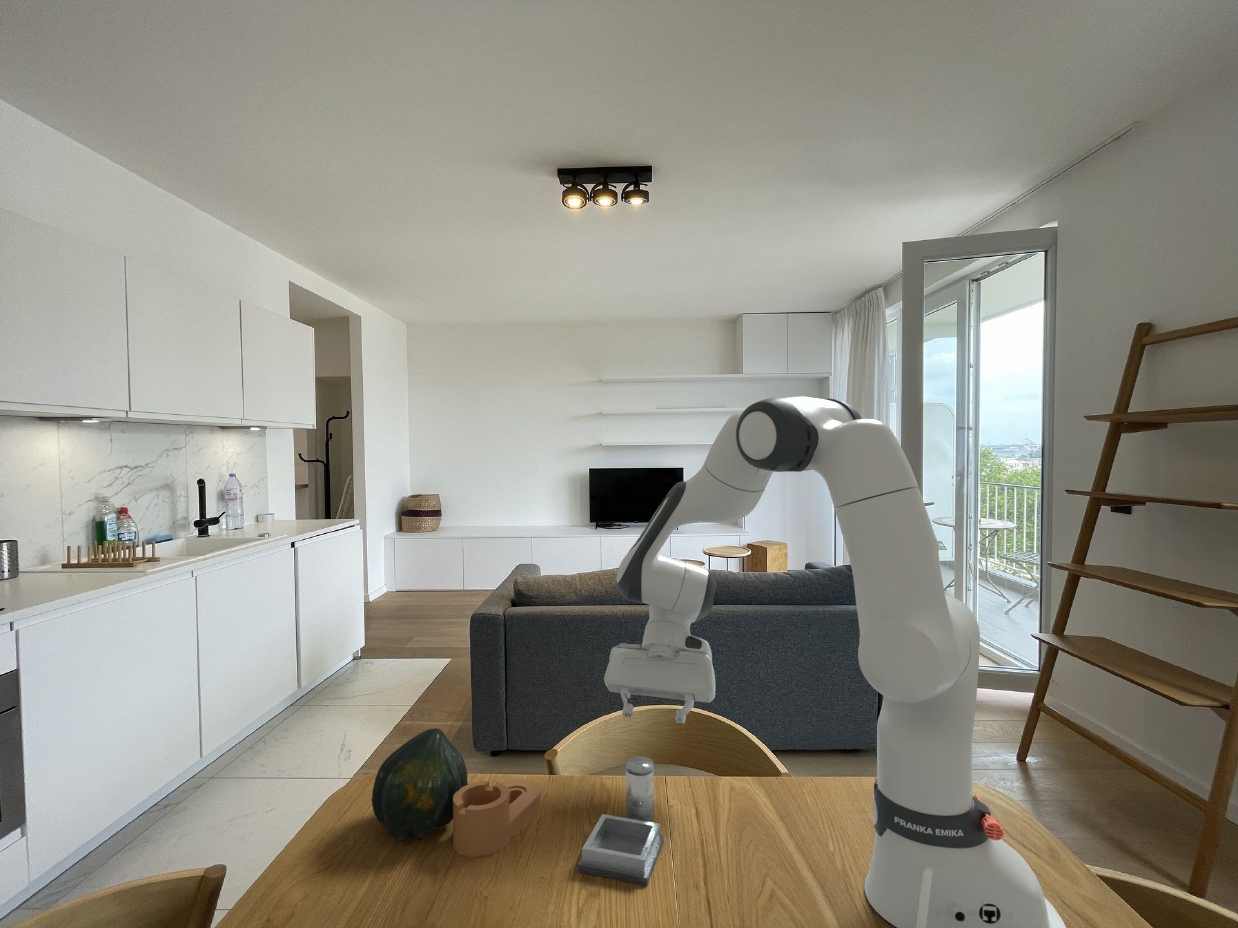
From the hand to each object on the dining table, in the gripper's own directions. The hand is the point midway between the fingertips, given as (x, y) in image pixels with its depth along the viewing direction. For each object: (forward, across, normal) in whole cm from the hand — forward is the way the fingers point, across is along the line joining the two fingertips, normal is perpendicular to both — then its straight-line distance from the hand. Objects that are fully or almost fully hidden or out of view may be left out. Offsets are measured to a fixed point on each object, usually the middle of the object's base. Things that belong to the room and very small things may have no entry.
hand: (653, 718), depth 107 cm
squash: (+23, -33, -5) cm, 41 cm away
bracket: (+21, -21, -2) cm, 30 cm away
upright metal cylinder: (+15, 0, +3) cm, 15 cm away
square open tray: (+22, 0, -4) cm, 23 cm away
